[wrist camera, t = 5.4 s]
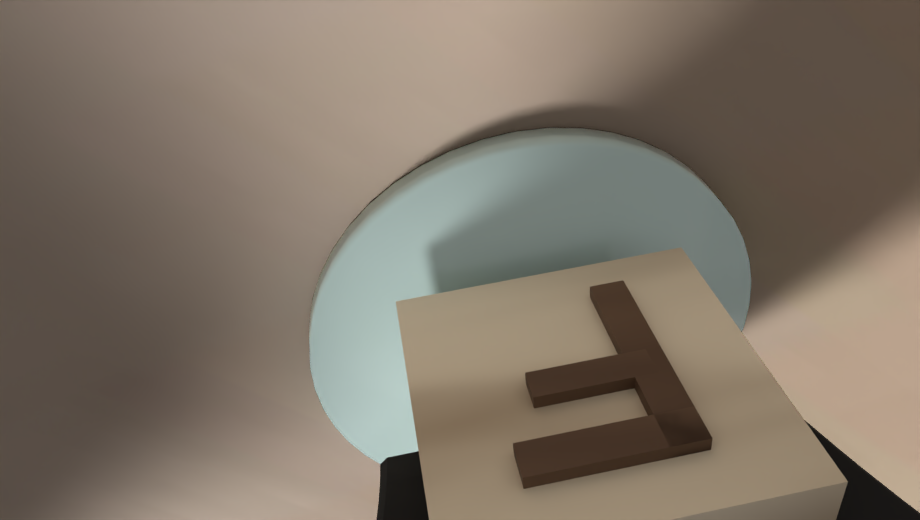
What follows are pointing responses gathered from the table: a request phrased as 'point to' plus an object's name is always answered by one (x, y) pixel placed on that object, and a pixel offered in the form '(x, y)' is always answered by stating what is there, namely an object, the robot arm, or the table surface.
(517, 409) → the letter cube
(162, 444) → the table surface
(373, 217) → the coaster
